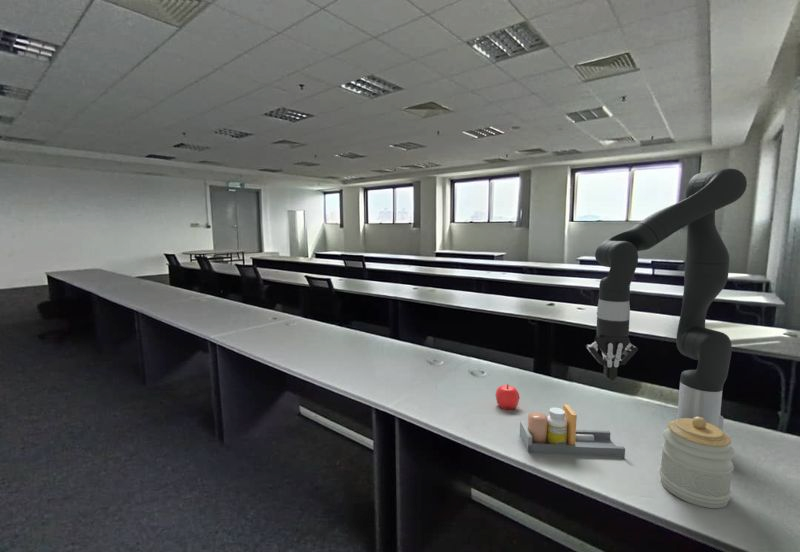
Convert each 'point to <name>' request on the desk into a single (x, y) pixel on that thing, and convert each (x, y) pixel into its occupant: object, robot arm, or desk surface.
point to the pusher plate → (573, 427)
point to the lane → (596, 447)
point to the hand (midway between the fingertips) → (610, 379)
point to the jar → (697, 462)
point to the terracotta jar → (538, 427)
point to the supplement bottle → (556, 427)
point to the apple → (507, 397)
